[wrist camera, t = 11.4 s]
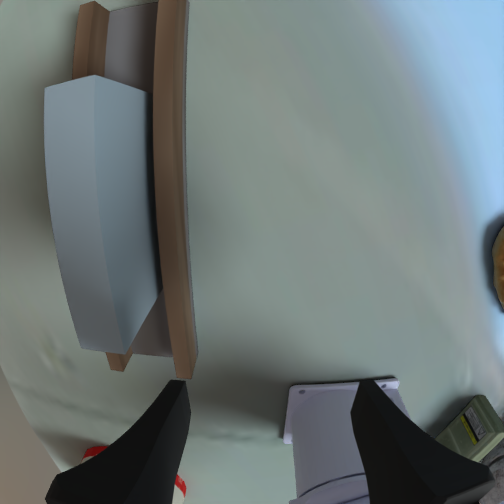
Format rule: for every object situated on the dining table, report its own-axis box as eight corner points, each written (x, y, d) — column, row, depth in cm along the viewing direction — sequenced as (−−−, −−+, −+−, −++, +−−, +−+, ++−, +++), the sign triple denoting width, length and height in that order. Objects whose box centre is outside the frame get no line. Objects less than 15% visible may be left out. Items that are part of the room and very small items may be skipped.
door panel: (152, 94, 16) (95, 74, 9) (163, 288, 20) (125, 354, 13) (114, 99, 16) (44, 87, 9) (128, 286, 20) (81, 348, 13)
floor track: (189, 2, 14) (178, -18, 11) (198, 352, 23) (191, 379, 20) (101, 18, 14) (80, 5, 12) (124, 346, 23) (110, 369, 20)
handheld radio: (487, 395, 26) (367, 503, 34) (473, 391, 25) (350, 502, 33) (511, 433, 19) (372, 537, 27) (498, 432, 19) (354, 538, 27)
